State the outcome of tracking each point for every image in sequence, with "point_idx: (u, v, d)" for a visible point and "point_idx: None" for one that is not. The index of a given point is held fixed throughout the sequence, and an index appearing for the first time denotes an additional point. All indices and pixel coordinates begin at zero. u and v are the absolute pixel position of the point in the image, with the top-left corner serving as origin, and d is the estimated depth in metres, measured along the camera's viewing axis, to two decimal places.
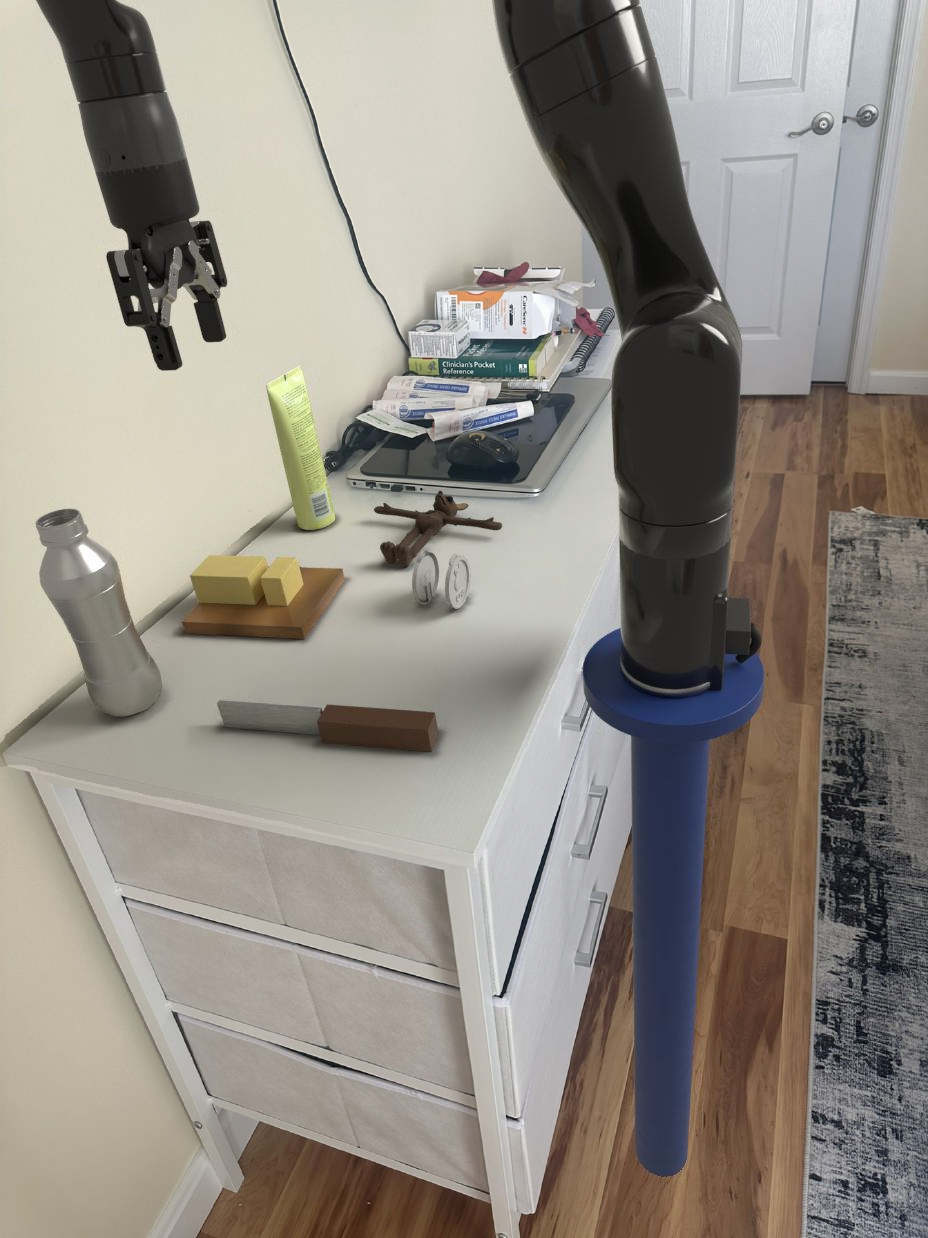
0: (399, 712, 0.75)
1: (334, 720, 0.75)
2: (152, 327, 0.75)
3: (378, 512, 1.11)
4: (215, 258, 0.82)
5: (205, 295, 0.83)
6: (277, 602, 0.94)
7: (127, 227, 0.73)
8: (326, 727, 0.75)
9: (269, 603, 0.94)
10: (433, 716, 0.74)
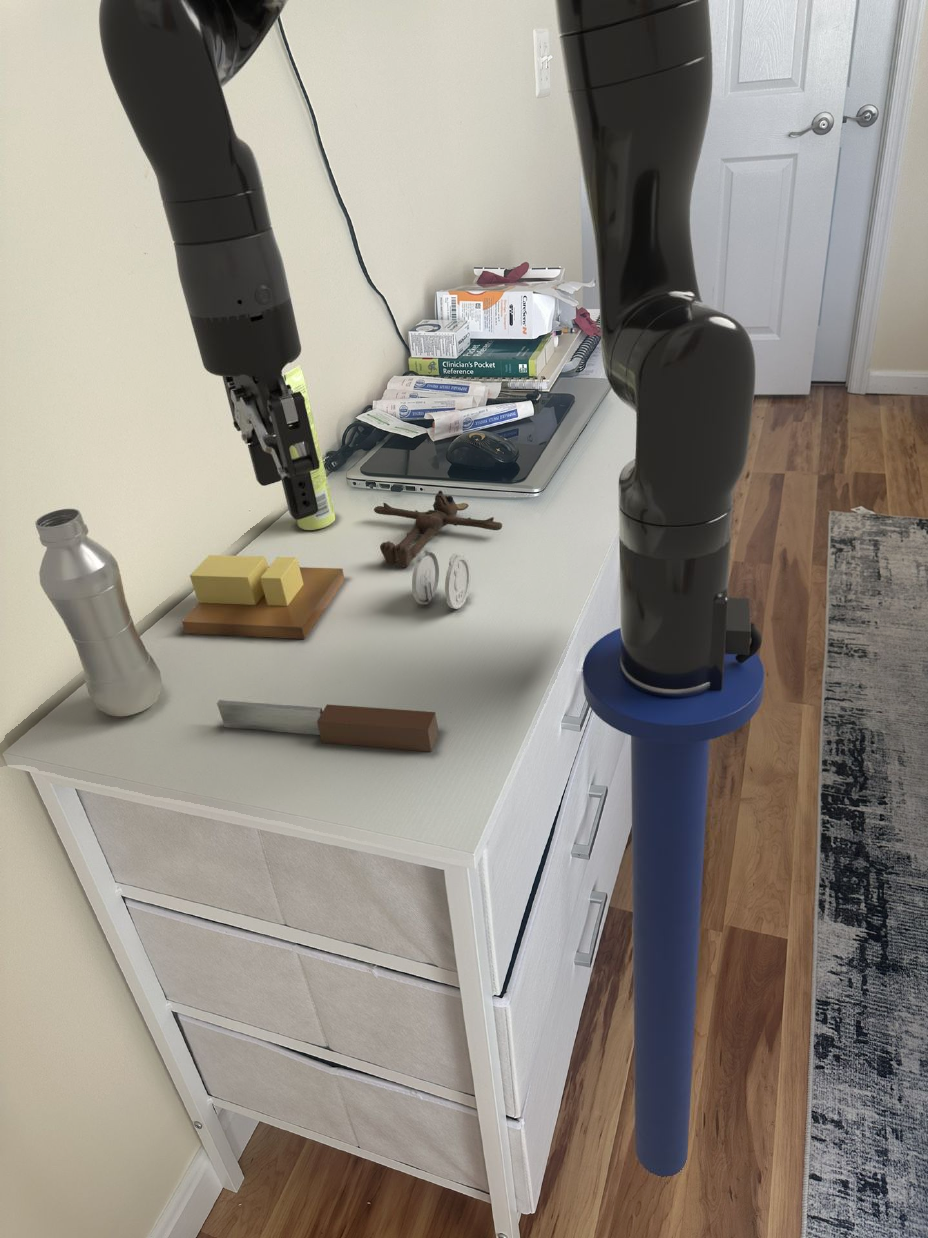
0: (399, 712, 0.75)
1: (334, 720, 0.75)
2: None
3: (378, 512, 1.11)
4: (277, 441, 0.65)
5: None
6: (277, 602, 0.94)
7: None
8: (326, 727, 0.75)
9: (269, 603, 0.94)
10: (433, 716, 0.74)
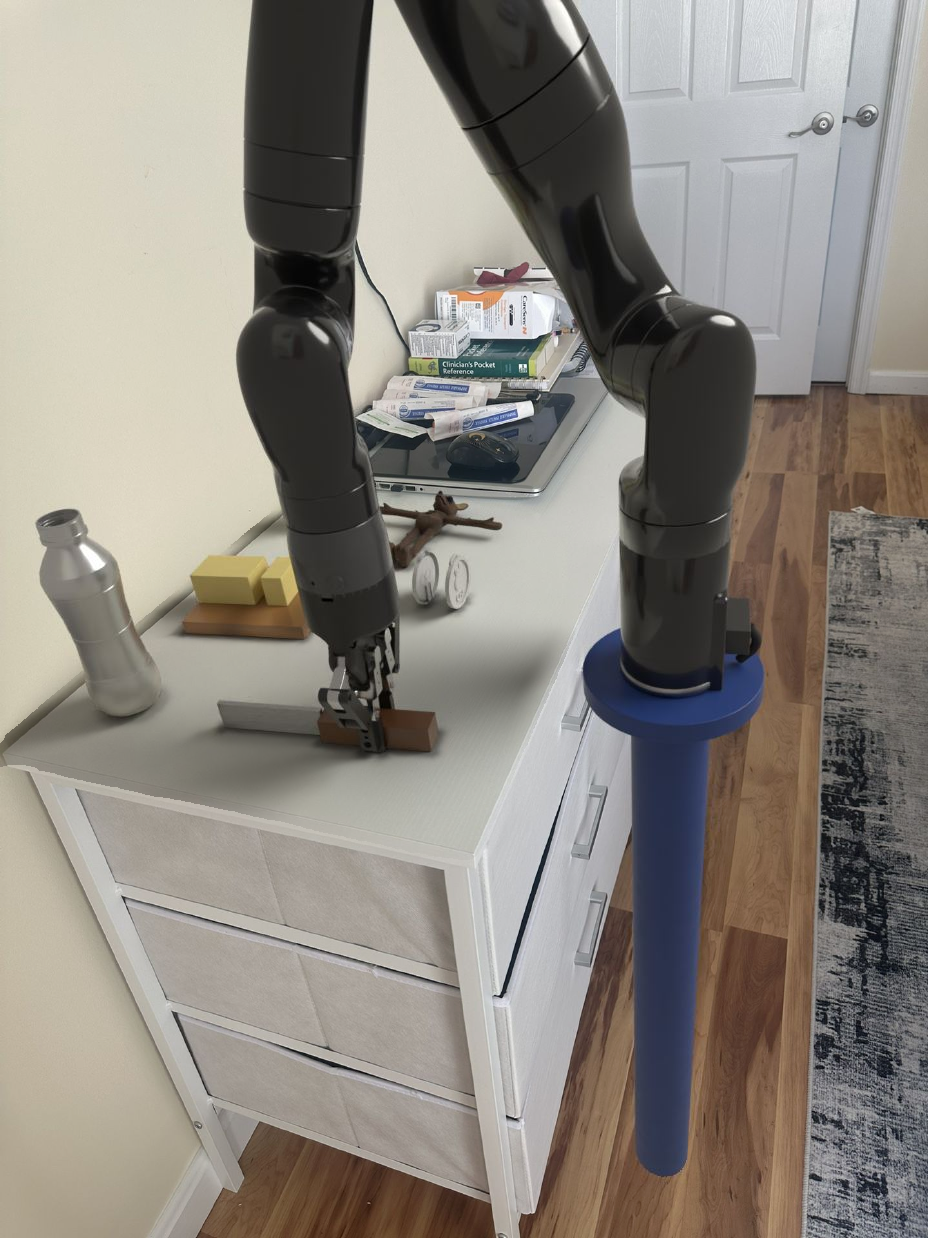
0: (399, 712, 0.75)
1: None
2: None
3: None
4: None
5: None
6: (277, 602, 0.94)
7: None
8: (326, 727, 0.75)
9: (269, 603, 0.94)
10: (433, 716, 0.74)
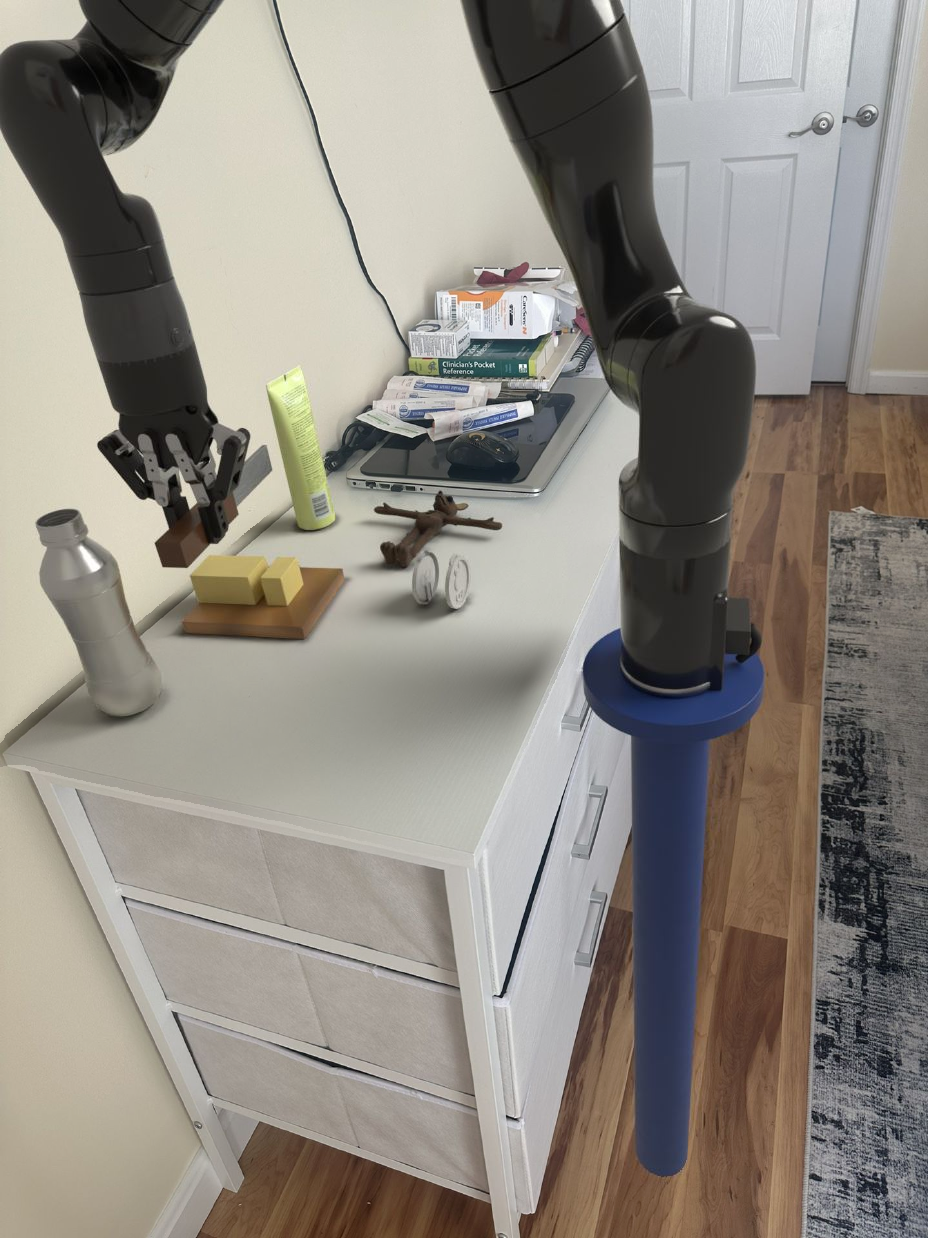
0: (193, 525, 0.75)
1: None
2: None
3: (378, 512, 1.11)
4: (143, 459, 0.76)
5: (177, 494, 0.76)
6: (277, 602, 0.94)
7: (199, 400, 0.70)
8: None
9: (269, 603, 0.94)
10: (174, 543, 0.73)
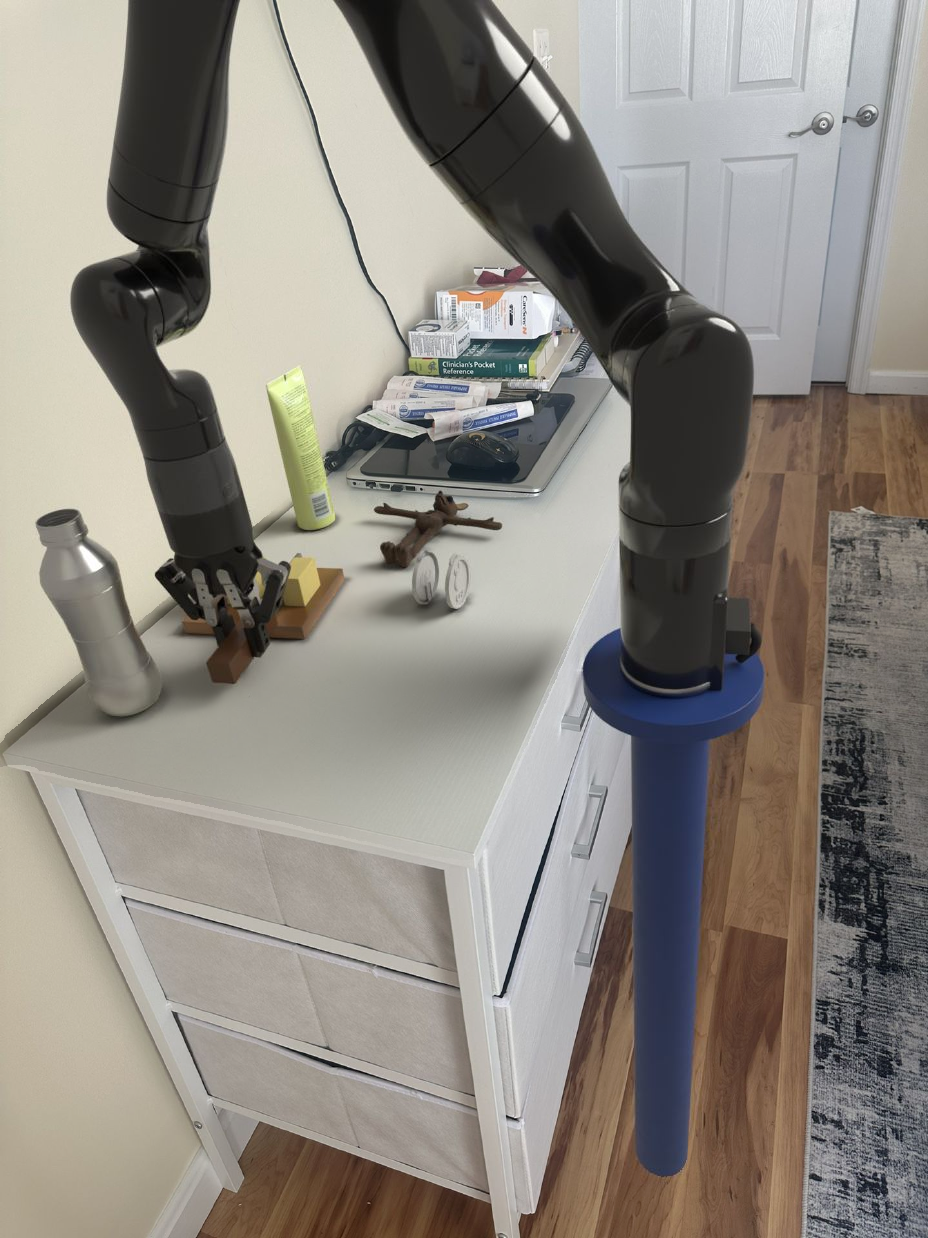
0: (239, 644, 0.84)
1: None
2: None
3: (378, 512, 1.11)
4: (194, 583, 0.85)
5: (224, 614, 0.85)
6: (294, 603, 0.93)
7: (246, 541, 0.79)
8: None
9: (286, 604, 0.94)
10: (223, 664, 0.82)
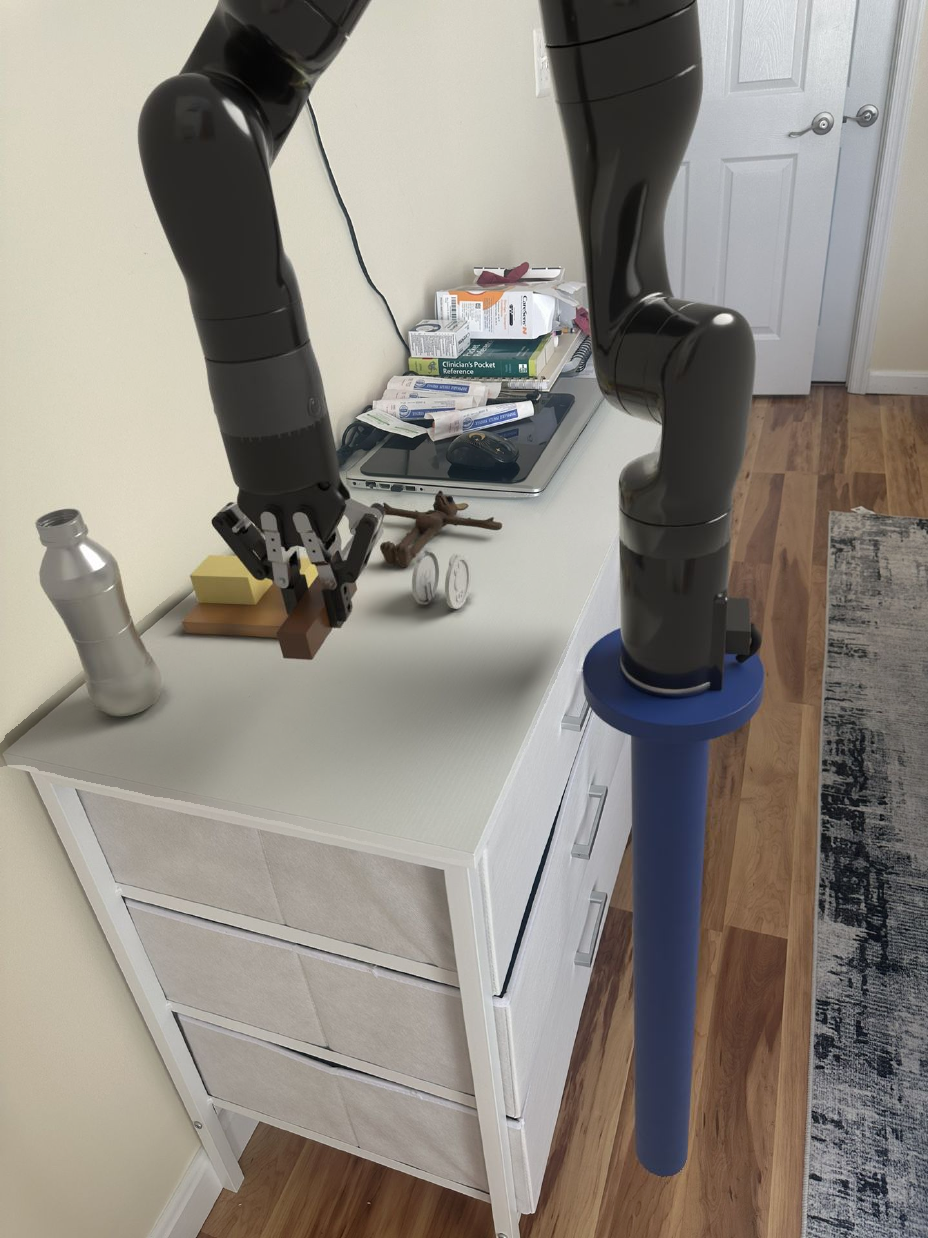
0: (316, 610, 0.67)
1: None
2: None
3: None
4: (259, 534, 0.68)
5: (297, 573, 0.68)
6: None
7: (332, 475, 0.61)
8: None
9: None
10: (299, 634, 0.64)
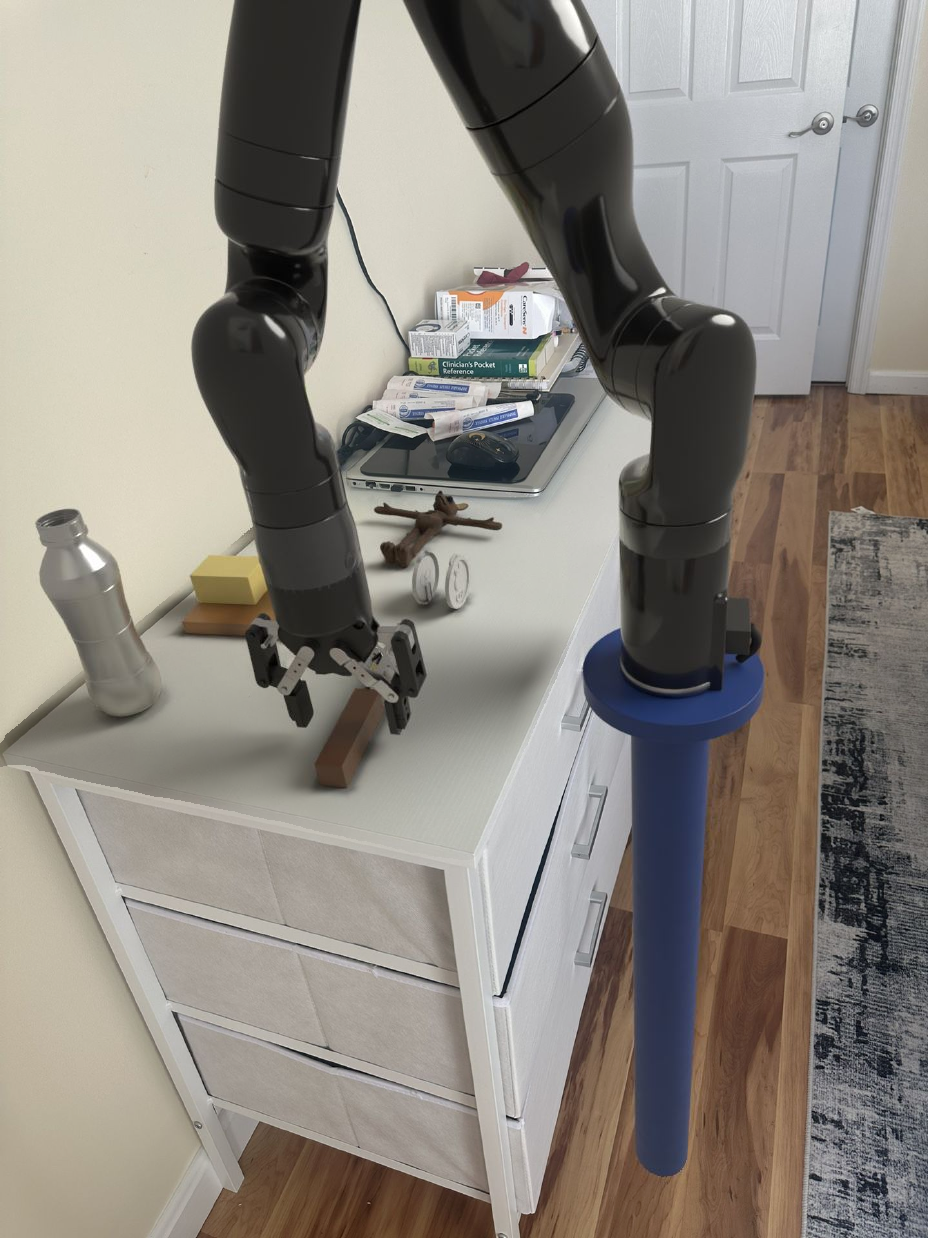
0: (350, 740, 0.73)
1: (353, 698, 0.77)
2: None
3: (378, 512, 1.11)
4: (275, 645, 0.74)
5: (298, 680, 0.74)
6: None
7: (366, 615, 0.67)
8: None
9: None
10: (335, 766, 0.70)
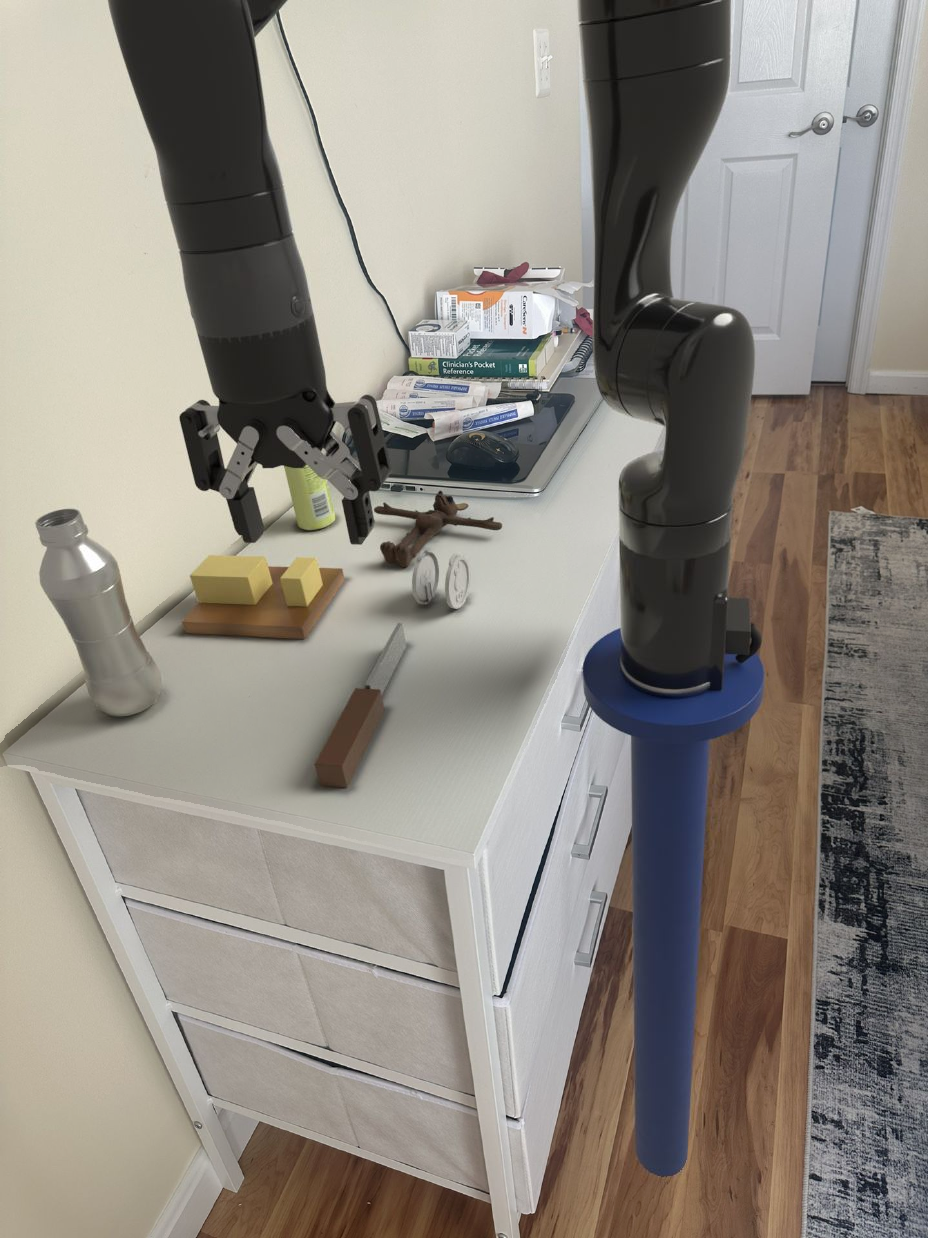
0: (350, 740, 0.73)
1: (353, 698, 0.77)
2: None
3: (378, 512, 1.11)
4: (218, 443, 0.64)
5: (244, 484, 0.64)
6: (297, 603, 0.93)
7: (318, 385, 0.57)
8: None
9: (289, 604, 0.94)
10: (335, 766, 0.70)
